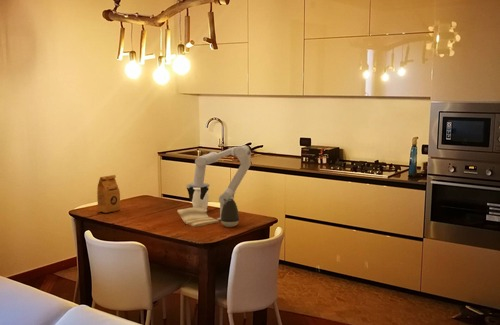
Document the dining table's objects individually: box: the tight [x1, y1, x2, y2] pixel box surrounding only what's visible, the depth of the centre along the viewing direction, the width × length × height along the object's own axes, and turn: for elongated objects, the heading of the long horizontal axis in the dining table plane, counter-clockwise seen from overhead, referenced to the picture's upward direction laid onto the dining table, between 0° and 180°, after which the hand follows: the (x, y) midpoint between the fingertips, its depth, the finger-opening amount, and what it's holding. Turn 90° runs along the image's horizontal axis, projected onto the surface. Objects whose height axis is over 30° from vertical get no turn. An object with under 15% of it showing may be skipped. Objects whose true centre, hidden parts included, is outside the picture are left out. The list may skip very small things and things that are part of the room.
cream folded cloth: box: [176, 206, 209, 224], centre depth 296 cm, size 9×16×1 cm
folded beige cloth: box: [185, 216, 220, 228], centre depth 290 cm, size 9×16×1 cm, turn 130°
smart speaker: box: [220, 199, 240, 228], centre depth 283 cm, size 10×10×15 cm
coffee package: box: [96, 174, 122, 214], centre depth 314 cm, size 10×12×22 cm
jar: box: [191, 186, 210, 213], centre depth 316 cm, size 11×10×15 cm
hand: (196, 199), depth 301 cm, fingers open, 7 cm apart
